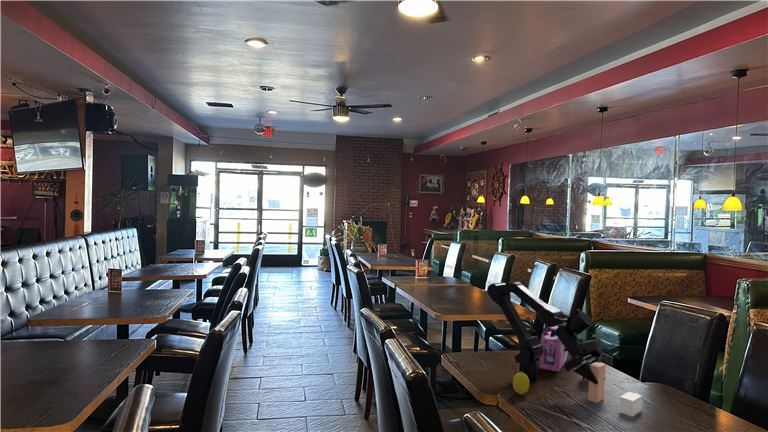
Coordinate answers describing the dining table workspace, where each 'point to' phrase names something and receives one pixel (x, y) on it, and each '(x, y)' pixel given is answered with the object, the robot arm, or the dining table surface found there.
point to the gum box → (552, 351)
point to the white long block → (630, 403)
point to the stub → (598, 389)
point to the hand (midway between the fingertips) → (600, 382)
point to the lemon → (521, 383)
